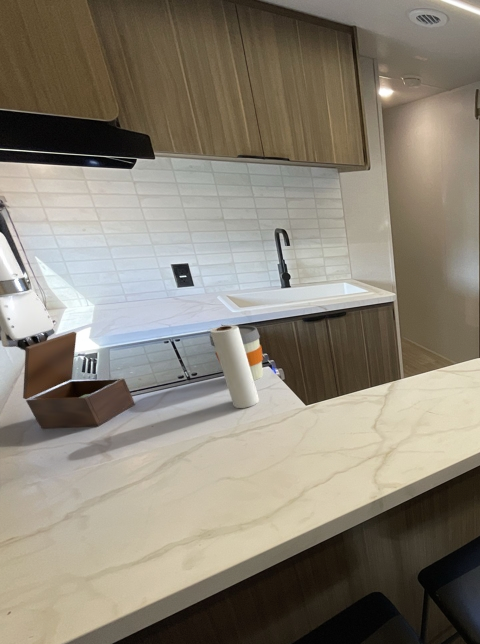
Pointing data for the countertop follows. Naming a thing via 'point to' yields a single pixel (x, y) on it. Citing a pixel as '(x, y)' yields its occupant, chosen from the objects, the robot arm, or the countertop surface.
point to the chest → (81, 403)
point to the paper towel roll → (235, 365)
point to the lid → (48, 364)
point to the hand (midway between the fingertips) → (42, 363)
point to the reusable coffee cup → (250, 349)
